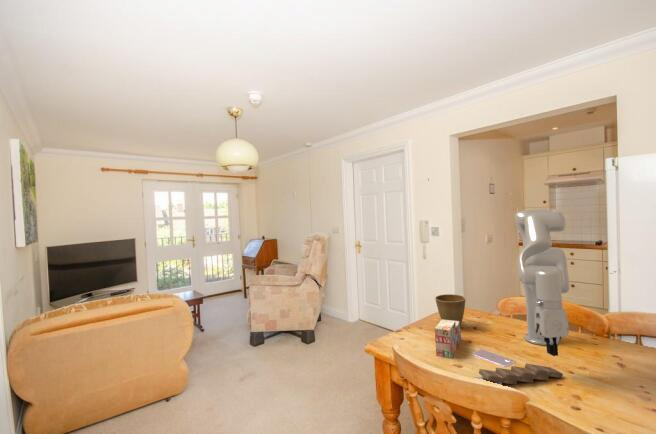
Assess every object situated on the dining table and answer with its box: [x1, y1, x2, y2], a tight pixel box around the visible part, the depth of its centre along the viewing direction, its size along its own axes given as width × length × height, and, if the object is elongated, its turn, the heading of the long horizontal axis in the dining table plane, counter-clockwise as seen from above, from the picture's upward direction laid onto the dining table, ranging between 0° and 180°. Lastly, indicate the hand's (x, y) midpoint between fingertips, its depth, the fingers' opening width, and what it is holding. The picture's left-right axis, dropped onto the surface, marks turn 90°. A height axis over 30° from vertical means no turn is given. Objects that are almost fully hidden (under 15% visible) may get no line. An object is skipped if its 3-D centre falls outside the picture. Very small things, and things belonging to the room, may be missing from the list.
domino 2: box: [478, 368, 518, 385], centre depth 112 cm, size 2×5×11 cm
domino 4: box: [510, 365, 550, 382], centre depth 113 cm, size 2×5×11 cm
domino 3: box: [495, 367, 534, 384], centre depth 113 cm, size 2×5×11 cm
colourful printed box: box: [434, 319, 462, 359], centre depth 144 cm, size 21×6×12 cm, turn 147°
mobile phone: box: [471, 349, 516, 368], centre depth 131 cm, size 8×1×15 cm
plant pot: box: [434, 293, 466, 327], centre depth 168 cm, size 15×15×16 cm
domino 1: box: [474, 375, 503, 386], centre depth 112 cm, size 2×5×11 cm
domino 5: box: [524, 363, 564, 379], centre depth 115 cm, size 2×5×11 cm
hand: (552, 354), depth 115 cm, fingers closed
